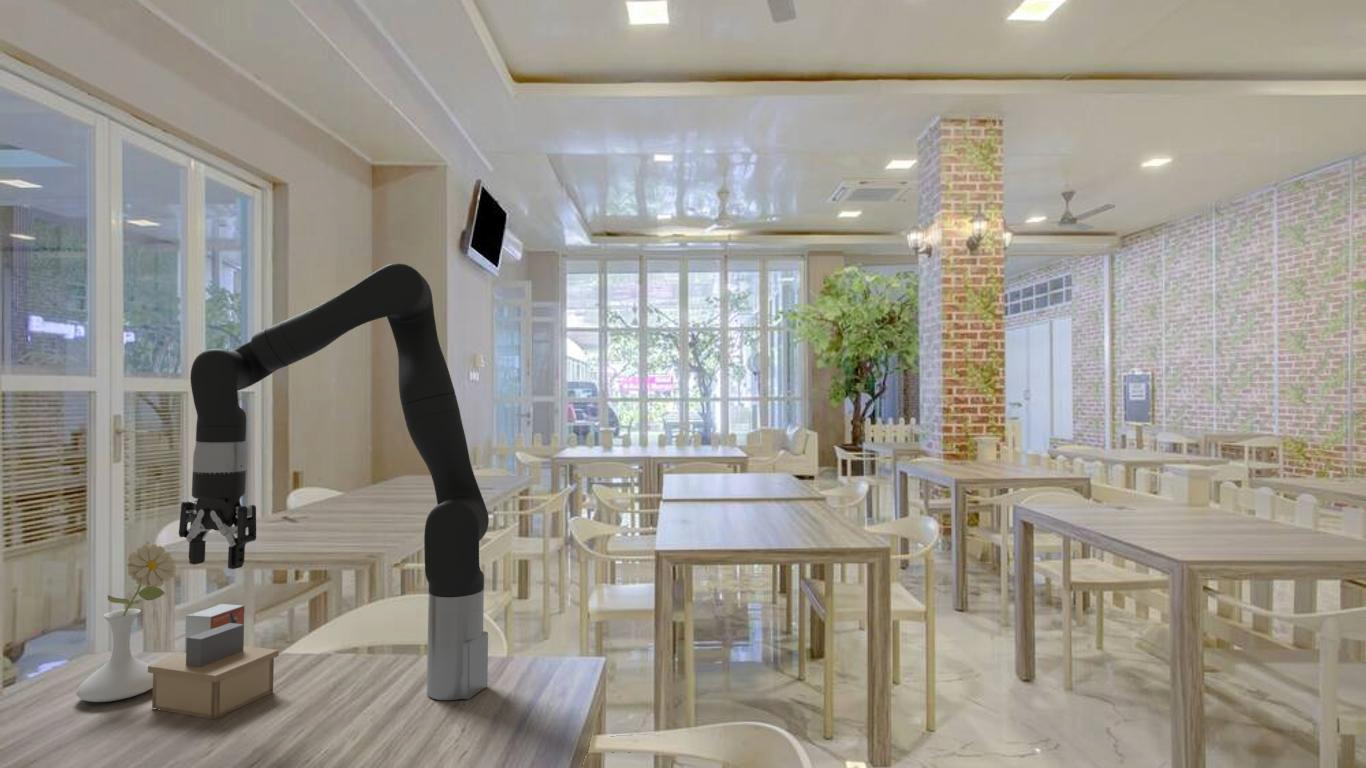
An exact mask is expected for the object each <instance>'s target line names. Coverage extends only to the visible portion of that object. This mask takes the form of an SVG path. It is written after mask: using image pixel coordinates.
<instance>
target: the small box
mask: <svg viewBox="0 0 1366 768" xmlns="http://www.w3.org/2000/svg"><path fill="white" fill-rule="evenodd" d="M229 623H236V624H244V625H245V605H242V604H241V605H240V604H230V603H229V604H225V603H220V604H219V603H218V604H217V605H215V606H212V607H209V608H206V609H202V610H200V611H197V612H194V613H190V614H186V615H185V630H184V631H185V632H184V633H185V635H184V636H185V637H184V639H185V640H184V653H186V642H187V637H190V636H193V635H196V634H199V633H202V632H205V631H208V630H211V629H214V628H217V627H220V626H223V625H226V624H229Z"/></svg>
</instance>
